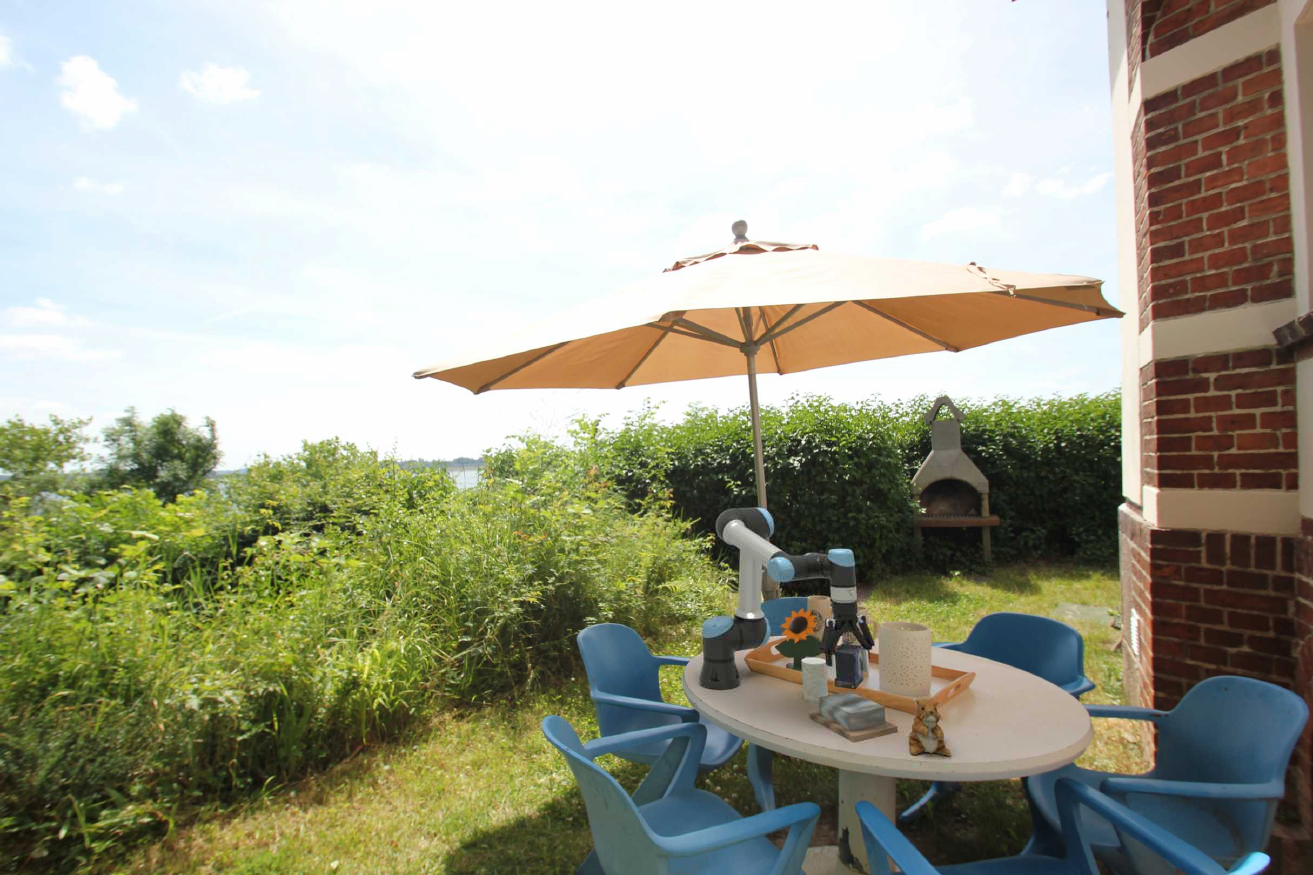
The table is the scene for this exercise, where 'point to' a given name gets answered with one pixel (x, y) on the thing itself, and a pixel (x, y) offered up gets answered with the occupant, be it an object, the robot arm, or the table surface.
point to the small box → (848, 666)
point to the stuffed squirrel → (927, 729)
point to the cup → (814, 678)
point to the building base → (854, 734)
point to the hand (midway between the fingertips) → (849, 674)
